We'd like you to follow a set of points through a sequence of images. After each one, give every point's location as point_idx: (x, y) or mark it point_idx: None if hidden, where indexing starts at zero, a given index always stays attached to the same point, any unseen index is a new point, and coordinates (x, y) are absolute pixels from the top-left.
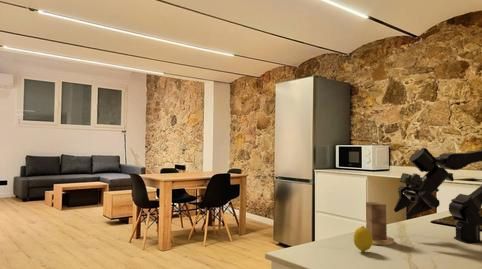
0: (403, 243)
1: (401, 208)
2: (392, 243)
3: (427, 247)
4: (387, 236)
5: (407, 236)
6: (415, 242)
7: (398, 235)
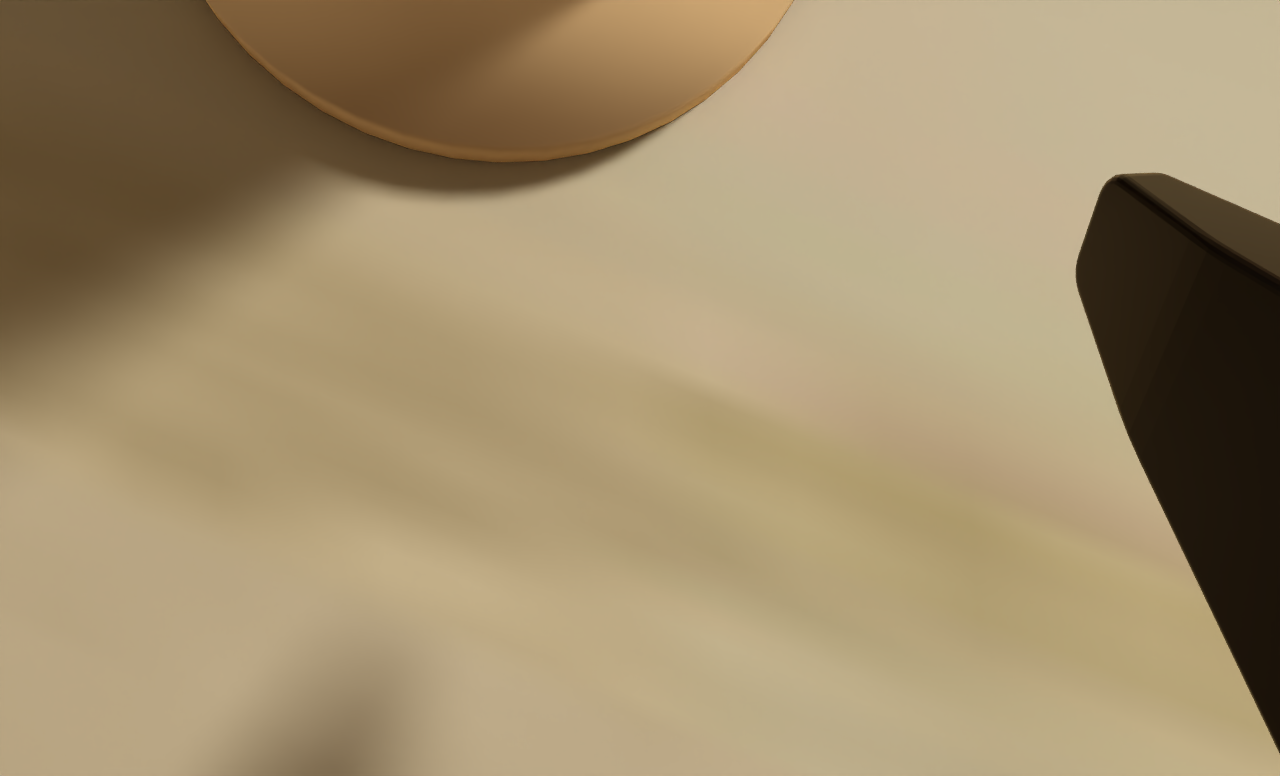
0: (343, 325)
1: (1203, 524)
2: (253, 55)
3: (28, 709)
4: (673, 96)
5: (947, 655)
6: (437, 621)
7: (1023, 489)
